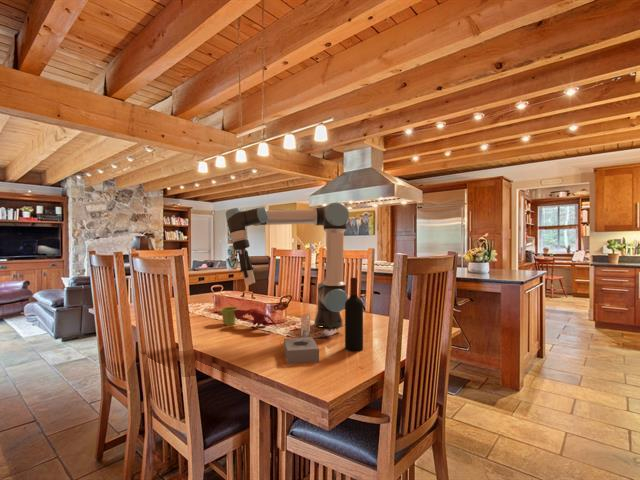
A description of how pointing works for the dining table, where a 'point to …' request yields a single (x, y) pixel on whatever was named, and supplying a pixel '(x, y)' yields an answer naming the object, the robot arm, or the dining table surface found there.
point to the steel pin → (305, 326)
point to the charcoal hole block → (301, 350)
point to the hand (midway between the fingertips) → (250, 284)
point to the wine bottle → (354, 320)
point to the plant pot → (228, 315)
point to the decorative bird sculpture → (254, 316)
